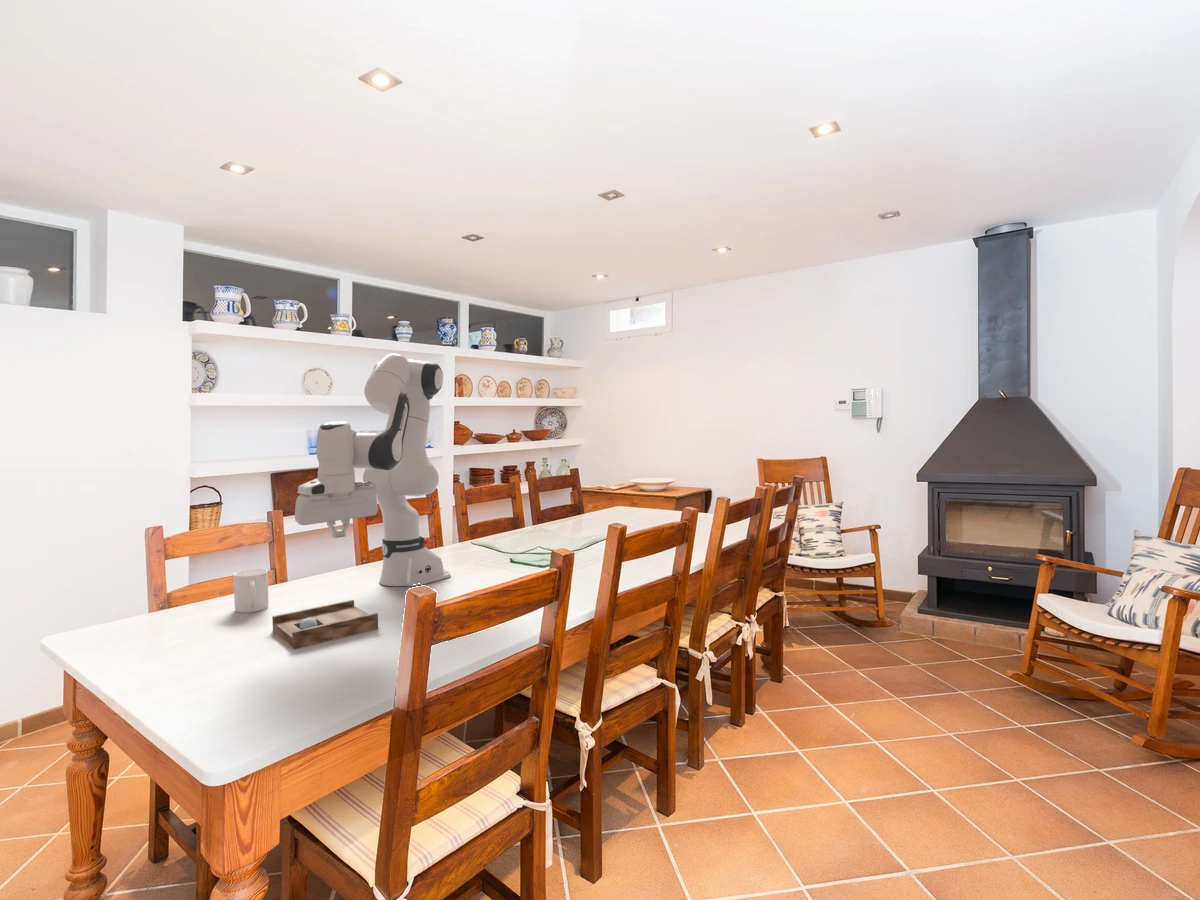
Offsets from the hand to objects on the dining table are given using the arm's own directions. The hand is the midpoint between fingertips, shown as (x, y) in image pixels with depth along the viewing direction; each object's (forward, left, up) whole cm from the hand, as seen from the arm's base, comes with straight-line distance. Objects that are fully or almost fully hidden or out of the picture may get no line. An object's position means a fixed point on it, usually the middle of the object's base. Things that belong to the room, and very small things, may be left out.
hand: (339, 537), depth 161 cm
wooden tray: (+5, +4, -22) cm, 23 cm away
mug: (+14, -26, -23) cm, 37 cm away
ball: (+11, +5, -22) cm, 25 cm away
